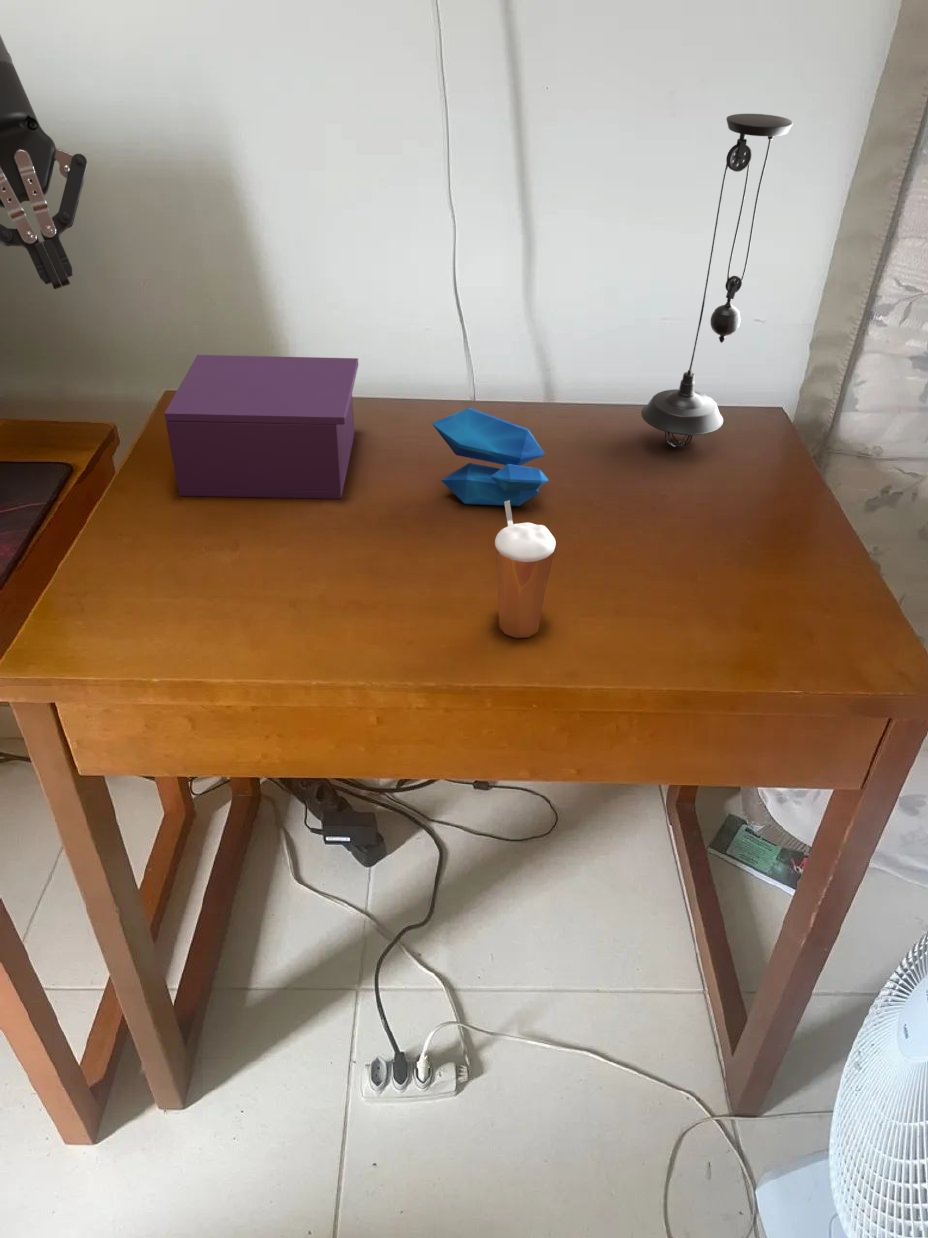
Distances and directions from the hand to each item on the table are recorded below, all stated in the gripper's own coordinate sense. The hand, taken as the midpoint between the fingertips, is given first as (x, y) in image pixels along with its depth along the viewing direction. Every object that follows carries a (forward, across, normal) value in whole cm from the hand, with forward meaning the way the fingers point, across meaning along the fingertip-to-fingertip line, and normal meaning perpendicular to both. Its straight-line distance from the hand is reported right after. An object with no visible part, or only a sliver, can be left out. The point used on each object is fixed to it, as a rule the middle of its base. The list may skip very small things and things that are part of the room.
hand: (62, 285), depth 86 cm
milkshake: (+37, +21, -26) cm, 50 cm away
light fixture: (+34, +52, -6) cm, 63 cm away
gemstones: (+31, +28, -9) cm, 43 cm away
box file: (+21, +12, +4) cm, 25 cm away
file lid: (+14, +14, +1) cm, 20 cm away
